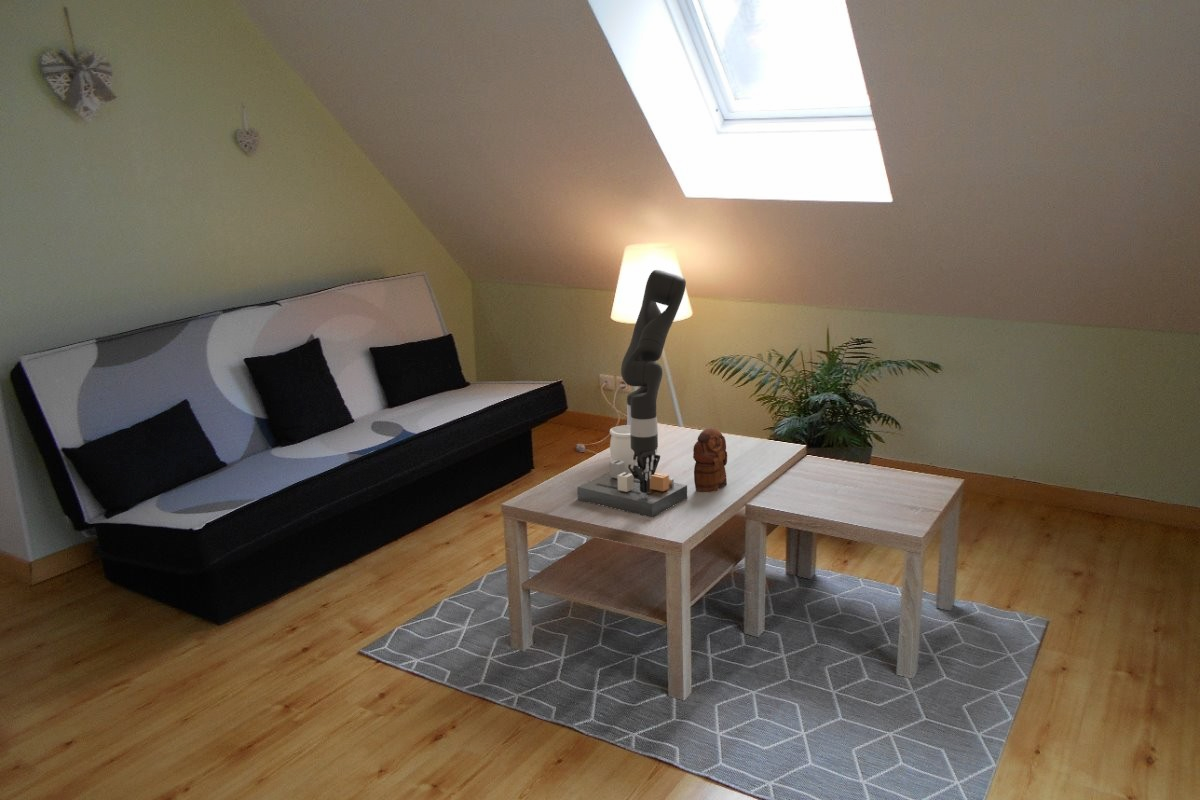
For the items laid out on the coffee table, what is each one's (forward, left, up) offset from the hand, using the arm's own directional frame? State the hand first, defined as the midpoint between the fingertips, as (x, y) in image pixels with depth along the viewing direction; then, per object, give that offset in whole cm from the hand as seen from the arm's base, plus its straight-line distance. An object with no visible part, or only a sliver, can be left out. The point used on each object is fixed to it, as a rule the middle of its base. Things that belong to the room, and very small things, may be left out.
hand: (645, 491), depth 280 cm
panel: (-5, -8, -6) cm, 11 cm away
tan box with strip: (-7, 0, -2) cm, 7 cm away
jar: (-21, -21, -6) cm, 31 cm away
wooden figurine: (-26, +6, -6) cm, 28 cm away
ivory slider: (-1, -8, -2) cm, 8 cm away
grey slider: (-9, -16, -2) cm, 19 cm away
